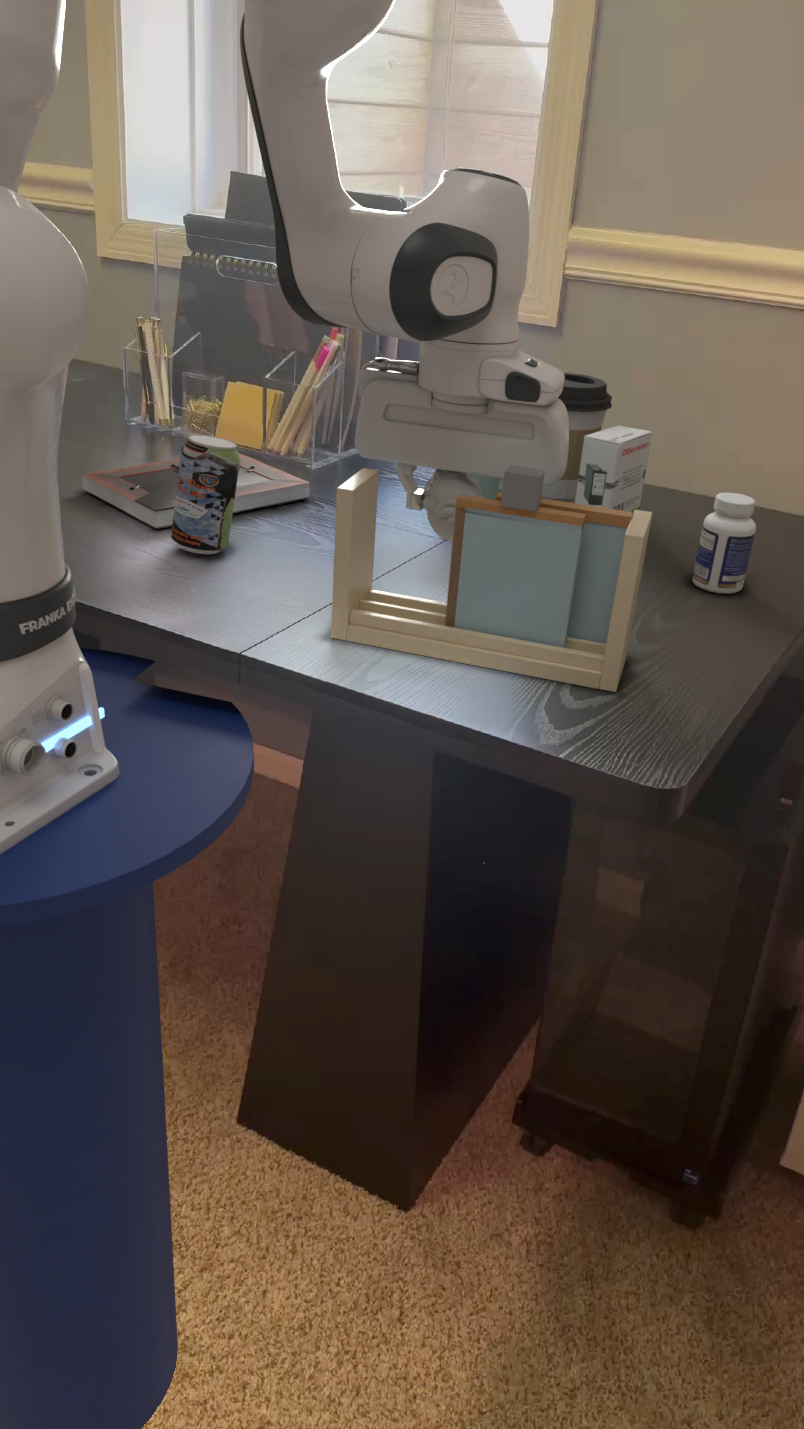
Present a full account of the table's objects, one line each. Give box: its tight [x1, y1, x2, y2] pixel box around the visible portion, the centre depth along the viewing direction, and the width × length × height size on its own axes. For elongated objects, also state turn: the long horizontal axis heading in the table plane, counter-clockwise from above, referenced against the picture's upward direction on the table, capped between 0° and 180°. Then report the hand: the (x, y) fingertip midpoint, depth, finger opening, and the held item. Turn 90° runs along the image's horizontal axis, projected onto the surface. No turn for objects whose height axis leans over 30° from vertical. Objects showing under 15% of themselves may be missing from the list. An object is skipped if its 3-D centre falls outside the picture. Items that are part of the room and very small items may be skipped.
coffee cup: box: [542, 371, 613, 503], centre depth 138 cm, size 11×11×15 cm
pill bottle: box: [691, 492, 757, 595], centre depth 115 cm, size 5×5×10 cm
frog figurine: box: [423, 468, 484, 542], centre depth 105 cm, size 6×7×7 cm
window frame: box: [330, 467, 653, 693], centre depth 96 cm, size 7×26×14 cm, turn 73°
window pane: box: [445, 465, 586, 648], centre depth 93 cm, size 2×11×16 cm, turn 73°
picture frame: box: [81, 452, 311, 530], centre depth 132 cm, size 16×2×22 cm
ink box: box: [575, 424, 653, 514], centre depth 129 cm, size 9×5×12 cm, turn 142°
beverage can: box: [170, 434, 240, 555], centre depth 114 cm, size 6×7×12 cm
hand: (453, 514), depth 106 cm, fingers closed on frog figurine, 6 cm apart
